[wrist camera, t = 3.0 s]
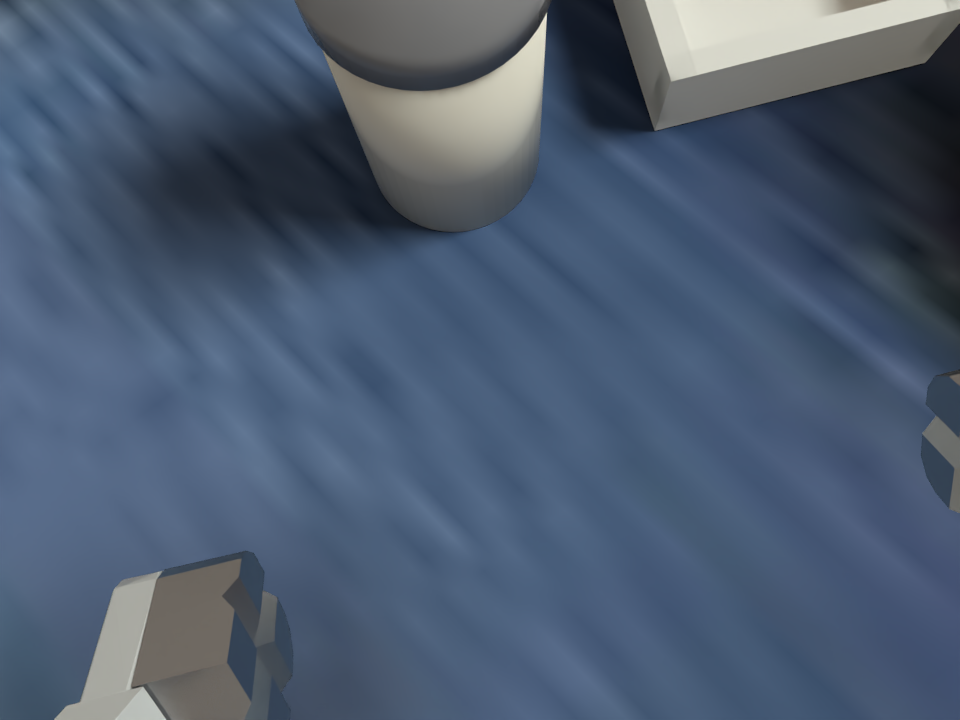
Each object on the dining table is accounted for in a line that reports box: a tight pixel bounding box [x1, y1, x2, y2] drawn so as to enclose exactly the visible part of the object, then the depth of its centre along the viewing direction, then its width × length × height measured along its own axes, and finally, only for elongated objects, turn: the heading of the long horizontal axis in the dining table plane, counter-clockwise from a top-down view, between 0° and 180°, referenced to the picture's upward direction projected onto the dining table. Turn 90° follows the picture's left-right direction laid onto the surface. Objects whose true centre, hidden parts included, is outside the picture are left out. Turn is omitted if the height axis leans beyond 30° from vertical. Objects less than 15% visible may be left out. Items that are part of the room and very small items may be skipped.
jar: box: [295, 0, 551, 232], centre depth 22 cm, size 6×6×11 cm
